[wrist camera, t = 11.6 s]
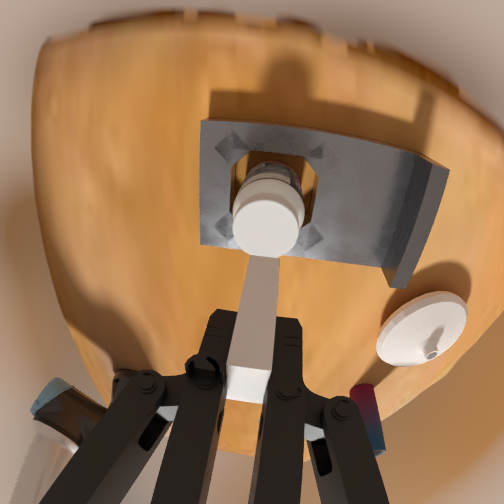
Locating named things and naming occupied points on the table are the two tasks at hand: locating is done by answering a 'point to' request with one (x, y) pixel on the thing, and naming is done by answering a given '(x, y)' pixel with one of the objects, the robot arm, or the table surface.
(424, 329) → the lid
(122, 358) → the table surface
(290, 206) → the pill bottle
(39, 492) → the robot arm
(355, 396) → the cup
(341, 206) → the jig
